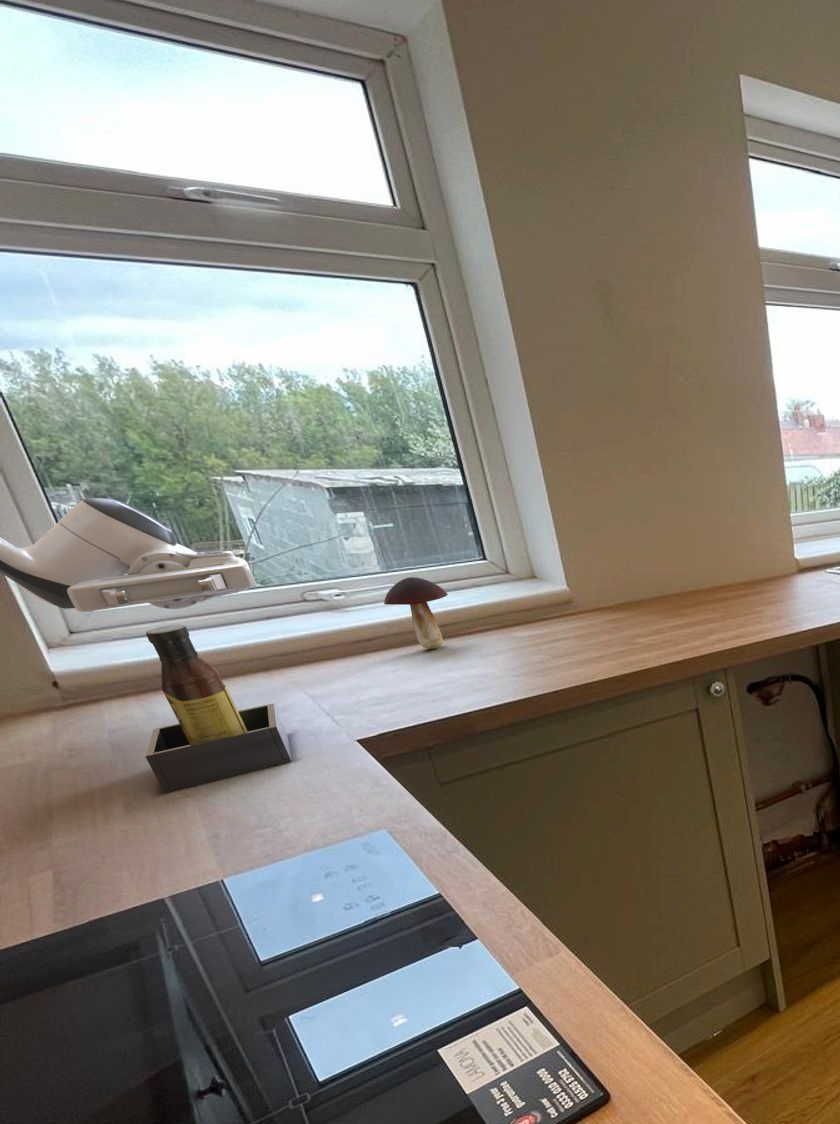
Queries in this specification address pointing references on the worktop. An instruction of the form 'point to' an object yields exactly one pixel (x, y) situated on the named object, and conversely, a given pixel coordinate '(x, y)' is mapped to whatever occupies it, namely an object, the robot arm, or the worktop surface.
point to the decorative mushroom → (419, 607)
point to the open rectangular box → (218, 751)
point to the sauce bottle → (194, 687)
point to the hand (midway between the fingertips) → (164, 592)
